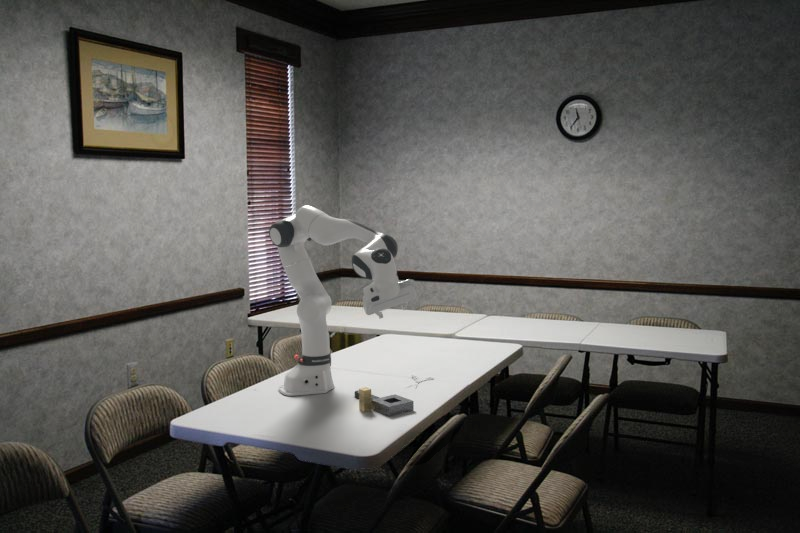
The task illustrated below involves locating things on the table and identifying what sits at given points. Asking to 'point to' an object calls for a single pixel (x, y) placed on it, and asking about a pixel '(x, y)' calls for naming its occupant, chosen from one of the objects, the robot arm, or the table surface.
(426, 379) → the scissors
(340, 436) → the table surface
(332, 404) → the table surface
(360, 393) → the bar
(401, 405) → the grey handled square frame
